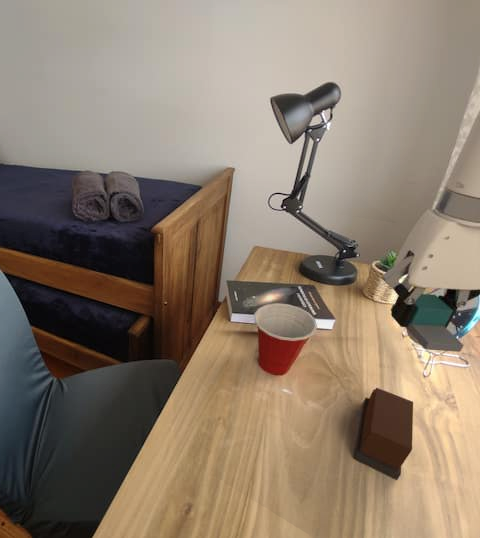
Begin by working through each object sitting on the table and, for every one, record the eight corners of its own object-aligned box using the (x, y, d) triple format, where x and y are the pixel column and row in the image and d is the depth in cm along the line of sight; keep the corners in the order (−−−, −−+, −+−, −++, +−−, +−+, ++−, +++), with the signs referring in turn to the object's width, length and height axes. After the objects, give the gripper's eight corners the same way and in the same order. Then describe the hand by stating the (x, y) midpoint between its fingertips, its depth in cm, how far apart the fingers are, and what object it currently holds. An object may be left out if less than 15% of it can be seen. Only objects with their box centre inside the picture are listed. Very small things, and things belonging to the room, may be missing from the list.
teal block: (389, 310, 56) (399, 289, 54) (420, 312, 56) (431, 290, 54) (424, 349, 49) (437, 326, 47) (460, 352, 48) (474, 329, 46)
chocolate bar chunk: (363, 402, 64) (375, 377, 61) (400, 418, 61) (416, 392, 58) (353, 459, 55) (367, 432, 52) (397, 480, 52) (414, 453, 49)
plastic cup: (239, 345, 78) (249, 300, 72) (291, 348, 77) (305, 302, 71) (250, 384, 68) (262, 336, 62) (309, 387, 67) (327, 339, 61)
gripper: (526, 198, 47) (461, 311, 56) (387, 194, 48) (346, 304, 58) (584, 220, 40) (499, 343, 49) (421, 215, 42) (368, 335, 51)
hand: (417, 321), depth 53 cm, fingers closed on teal block, 4 cm apart
